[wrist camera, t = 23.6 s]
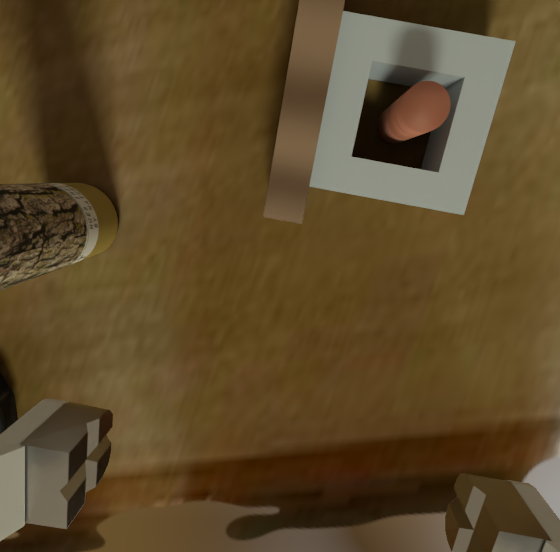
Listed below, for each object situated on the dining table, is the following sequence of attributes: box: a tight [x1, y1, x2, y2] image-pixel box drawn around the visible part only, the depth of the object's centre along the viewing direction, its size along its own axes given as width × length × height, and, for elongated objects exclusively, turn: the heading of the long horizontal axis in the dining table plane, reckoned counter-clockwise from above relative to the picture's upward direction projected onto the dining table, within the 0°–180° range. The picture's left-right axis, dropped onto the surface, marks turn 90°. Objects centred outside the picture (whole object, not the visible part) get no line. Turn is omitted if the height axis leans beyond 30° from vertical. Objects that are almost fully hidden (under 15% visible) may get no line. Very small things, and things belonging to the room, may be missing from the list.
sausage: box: [377, 81, 450, 144], centre depth 29 cm, size 3×3×9 cm
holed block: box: [309, 11, 516, 215], centre depth 31 cm, size 12×12×5 cm
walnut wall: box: [263, 0, 345, 224], centre depth 30 cm, size 18×3×6 cm, turn 170°
